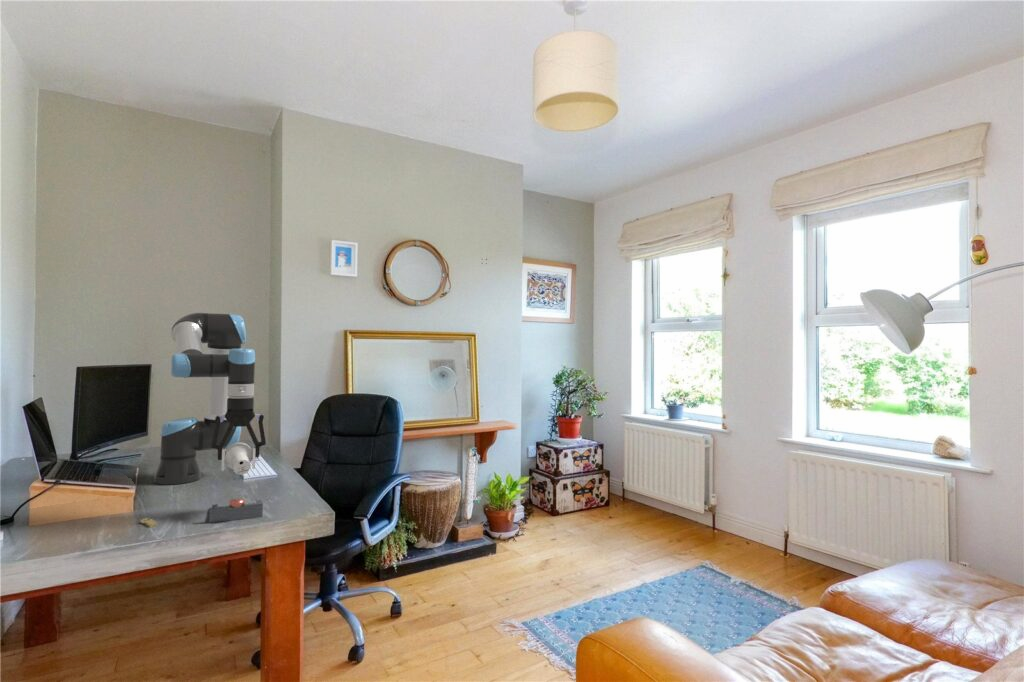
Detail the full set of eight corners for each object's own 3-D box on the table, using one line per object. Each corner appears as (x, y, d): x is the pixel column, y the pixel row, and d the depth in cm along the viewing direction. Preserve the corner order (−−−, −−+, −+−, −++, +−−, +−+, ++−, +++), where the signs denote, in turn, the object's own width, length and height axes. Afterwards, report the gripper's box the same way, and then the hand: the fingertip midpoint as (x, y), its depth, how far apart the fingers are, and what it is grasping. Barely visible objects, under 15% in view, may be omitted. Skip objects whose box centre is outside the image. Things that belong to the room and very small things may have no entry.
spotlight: (253, 461, 170) (249, 438, 168) (258, 475, 160) (254, 451, 158) (225, 468, 165) (221, 445, 163) (229, 483, 156) (225, 459, 154)
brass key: (139, 522, 150) (139, 519, 150) (150, 520, 152) (150, 517, 152) (147, 527, 146) (147, 524, 146) (158, 525, 148) (159, 522, 148)
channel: (212, 508, 164) (213, 490, 164) (261, 503, 170) (261, 486, 170) (208, 524, 150) (209, 504, 150) (262, 518, 156) (263, 499, 156)
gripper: (201, 398, 156) (199, 474, 155) (276, 397, 165) (274, 468, 165) (203, 396, 163) (201, 469, 162) (275, 395, 172) (273, 463, 171)
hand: (238, 468), depth 163 cm, fingers closed on spotlight, 8 cm apart
